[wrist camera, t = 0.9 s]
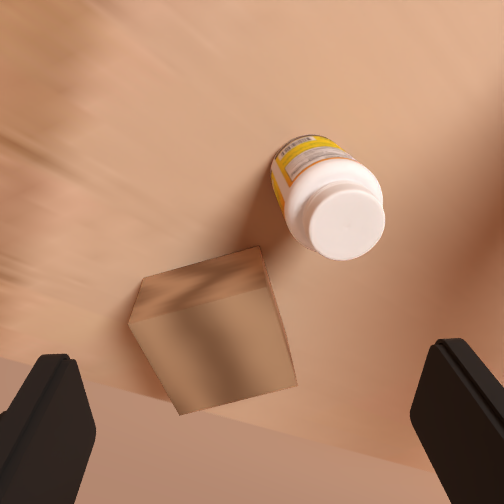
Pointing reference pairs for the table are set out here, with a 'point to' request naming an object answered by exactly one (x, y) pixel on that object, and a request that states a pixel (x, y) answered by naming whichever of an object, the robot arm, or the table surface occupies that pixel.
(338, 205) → the supplement bottle
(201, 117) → the table surface
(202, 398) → the walnut block
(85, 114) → the table surface
